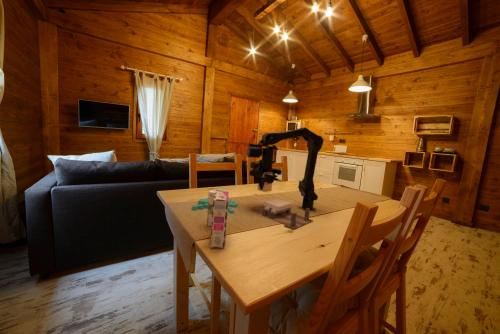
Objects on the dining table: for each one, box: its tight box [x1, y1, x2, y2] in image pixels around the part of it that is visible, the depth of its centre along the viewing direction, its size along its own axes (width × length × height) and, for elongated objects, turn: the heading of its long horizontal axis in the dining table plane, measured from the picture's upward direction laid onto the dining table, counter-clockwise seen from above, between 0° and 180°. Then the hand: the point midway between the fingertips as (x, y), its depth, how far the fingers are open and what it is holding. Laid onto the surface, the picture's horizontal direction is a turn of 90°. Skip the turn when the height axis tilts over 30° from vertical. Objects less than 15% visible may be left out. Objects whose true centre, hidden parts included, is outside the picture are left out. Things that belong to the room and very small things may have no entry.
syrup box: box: [206, 188, 228, 228], centre depth 89 cm, size 6×6×14 cm
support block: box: [257, 181, 273, 193], centre depth 111 cm, size 5×5×4 cm
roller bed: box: [247, 205, 314, 231], centre depth 105 cm, size 16×27×6 cm, turn 45°
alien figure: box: [191, 197, 239, 214], centre depth 113 cm, size 20×2×20 cm
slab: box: [263, 197, 293, 211], centre depth 106 cm, size 10×9×2 cm
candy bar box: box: [209, 191, 229, 249], centre depth 76 cm, size 11×5×16 cm, turn 5°
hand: (264, 188), depth 111 cm, fingers closed on support block, 5 cm apart
